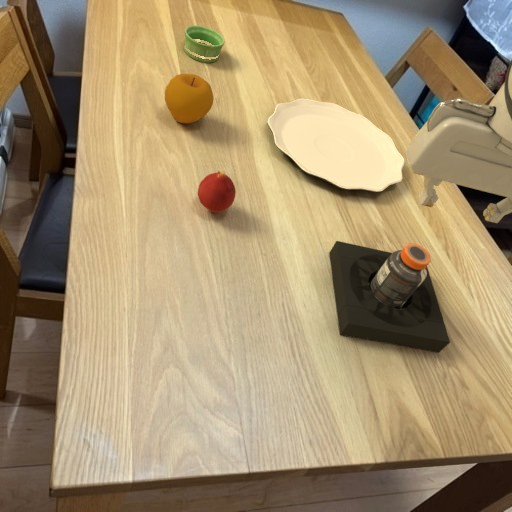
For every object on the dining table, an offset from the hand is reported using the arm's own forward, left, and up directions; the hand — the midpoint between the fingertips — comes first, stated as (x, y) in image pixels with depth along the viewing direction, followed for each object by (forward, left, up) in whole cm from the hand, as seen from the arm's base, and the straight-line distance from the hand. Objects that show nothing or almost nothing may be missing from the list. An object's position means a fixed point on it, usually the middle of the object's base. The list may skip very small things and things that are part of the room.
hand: (457, 211), depth 62 cm
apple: (+35, +35, -20) cm, 54 cm away
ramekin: (+63, +34, -20) cm, 75 cm away
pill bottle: (0, 0, -20) cm, 20 cm away
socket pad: (0, 0, -20) cm, 20 cm away
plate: (+38, +4, -20) cm, 43 cm away
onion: (+12, +28, -20) cm, 37 cm away
